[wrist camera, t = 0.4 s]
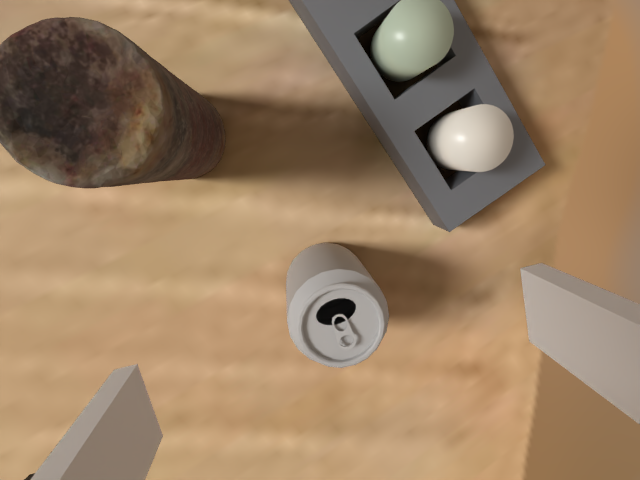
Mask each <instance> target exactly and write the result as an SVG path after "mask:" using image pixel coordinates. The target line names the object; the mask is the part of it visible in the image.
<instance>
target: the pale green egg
mask: <svg viewBox="0 0 640 480" xmlns="http://www.w3.org/2000/svg"><path fill="white" fill-rule="evenodd" d="M453 36H454V25H453V20H452V17H451V14H450V12H449V10H448V9H447V7H446V6H445V5H444V4H443V3H442V2H441V1H440V0H401V1H399V2H398V3H397V4H396V5H395V6H394V8H393V9H392V10H391V12H390V13H389V14H388V16H387V17H386V18H385V20H384V21H383V22H382V24H381V25H380V26H379V28H378V29H377V31H376V32H375V34H374V36H373V38H372V41H371V47H370V54H371V59H372V62H373V65H374V67H375V68H376V70H377V71H378V72H379V73H380V74H381V75H382V76H383V77H385V78H386V79H388V80H391V81H396V82H403V81H407V80H410V79H412V78H414V77H416V76H417V75H419V74H420V73H422V72H424V71H425V70H427V69H429V68H430V67H432V66H434V65H435V64H437V63H438V62H440V61H441V60H442V59H443V58H444V57H445V55H446V54H447V53H448V51H449V49H450V47H451V44H452V41H453Z"/></svg>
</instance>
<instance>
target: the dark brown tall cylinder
mask: <svg viewBox="0 0 640 480" xmlns="http://www.w3.org/2000/svg"><path fill="white" fill-rule="evenodd" d="M0 143H1V144H2V145H3V147H4V148H5V149H6V150H7V151H8V152H9V153H10V155H11V156H12V157H13V158H14V159H15V161H16V162H17V163H19V164H21V165H22V166H24V167H25V168H26V169H28V170H29V171H31V172H33V173H34V174H36V175H38V176H40V177H42V178H44V179H46V180H48V181H51V182H53V183H56V184H61V185H65V186H70V187H78V188H99V187H113V186H122V185H130V184H139V183H150V182H158V181H170V180H183V179H192V178H196V177H199V176H202V175H204V174H206V173H207V172H209V171H210V170H212V169H213V168H214V167H215V166H216V165H217V163H218V162H219V160H220V159H221V157H222V155H223V151H224V148H225V130H224V126H223V122H222V120H221V118H220V115H219V113H218V112H217V110H216V109H215V108H214V107H213V106H212V104H211V103H210V102H208V101H207V100H206V99H205V98H204V97H202V96H201V95H200V94H199V93H197V92H196V91H195V90H193V89H192V88H191V87H189V86H188V85H187V84H185V83H184V82H183V81H181V80H180V79H179V78H177V77H176V76H175V75H173V74H172V73H171V72H169V71H168V70H167V69H166V68H165V67H164V66H162V65H161V64H160V63H158V62H157V61H156V60H154V59H153V58H152V57H150V56H149V55H148V54H147V53H146V52H145V51H143V50H142V49H141V48H140V47H138V46H137V45H136V44H135V43H134V42H132V41H131V40H130V39H128V38H127V37H126V36H124V35H123V34H121V33H120V32H119V31H117V30H115V29H113V28H111V27H109V26H107V25H105V24H102V23H100V22H98V21H94V20H89V19H84V18H76V17H69V18H50V19H45V20H41V21H39V22H37V23H34V24H32V25H29V26H27V27H25V28H24V29H22V30H20V31H18V32H16V33H14V34H13V35H11V36H10V37H8V38H7V39H6V40H5V41H3V43H2V44H1V45H0Z"/></svg>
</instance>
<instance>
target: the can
mask: <svg viewBox="0 0 640 480" xmlns="http://www.w3.org/2000/svg"><path fill="white" fill-rule="evenodd" d="M286 297H287V323H288V328H289V333H290V337H291V338H292V340H293V342H294V343H295V345H296V347H297V348H298V350H300V351H301V352H302V353H303V354H304V355H306V356H307V357H308V358H309V359H311V360H313V361H316V362H318V363H321V364H323V365H326V366H328V367H339V368H343V367H348V366H352V365H356V364H358V363H360V362H362V361H363V360H365V359H367V358H368V357H369V356H370V355H371V354H372V353H373V352H374V351H375V350H376V349H377V348H378V346H379V344H380V342H381V340H382V338H383V337H384V335H385V333H386V331H387V325H388V319H389V312H388V306H387V301H386V299H385V297H384V295H383V293H382V291H381V289H380V287H379V286H378V285H377V283H376V282H375V281H374V279H373V278H372V277H371V275H370V274H369V273H368V271H367V270H366V269H365V267H364V266H363V265H362V263H361V262H360V260H359V259H358V258H357V257H356V256H355V255H354V254H353V253H352V252H351V251H350V250H349V249H347V248H345V247H343V246H340V245H338V244H332V243H321V244H315V245H312V246H310V247H308V248H306V249H304V250H303V251H301V252H300V253H299V254H298V255H297V256H296V257H295V258H294V260H293V261H292V263H291V265H290V267H289V269H288V272H287V280H286Z"/></svg>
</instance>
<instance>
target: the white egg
mask: <svg viewBox="0 0 640 480" xmlns="http://www.w3.org/2000/svg"><path fill="white" fill-rule="evenodd" d="M513 139H514V133H513V127H512V124H511V121H510V119H509V118H508V116H507V115H506V114H505V113H504V112H503V111H502V110H501V109H499V108H498V107H495V106H493V105H488V104H480V105H475V106H471V107H468V108H464V109H460V110H456V111H453V112H449V113H446V114H444V115H442V116H440V117H439V118H438V119H437V120H436V121H435V122H434V123H433V124H432V126H431V128H430V130H429V132H428V135H427V149H428V153H429V155H430V157H431V159H432V160H433V161H434V162H435V163H436V164H437V165H438V166H440V167H442V168H444V169H448V170H458V171H471V172H485V171H489V170H492V169H494V168H496V167H497V166H499V165H500V164H501V163H502V162H503V161H504V160H505V159H506V157H507V156H508V154H509V153H510V150H511V148H512V145H513Z"/></svg>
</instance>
